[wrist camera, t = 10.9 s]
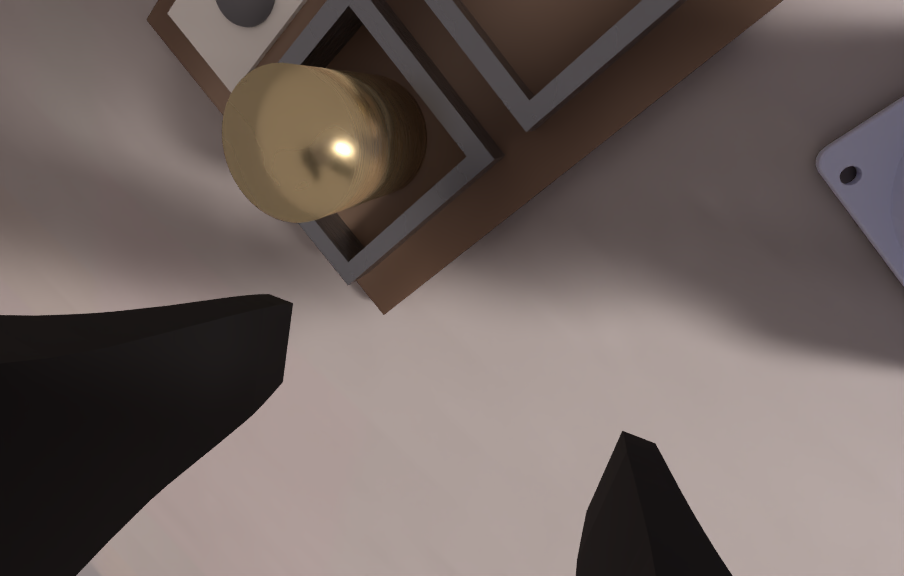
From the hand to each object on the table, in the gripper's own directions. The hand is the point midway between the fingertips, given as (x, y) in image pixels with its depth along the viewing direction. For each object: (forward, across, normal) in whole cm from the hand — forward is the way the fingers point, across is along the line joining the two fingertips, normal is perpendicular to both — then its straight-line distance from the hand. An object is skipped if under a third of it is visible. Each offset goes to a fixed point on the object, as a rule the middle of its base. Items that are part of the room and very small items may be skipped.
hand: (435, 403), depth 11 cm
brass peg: (+8, +6, -3) cm, 11 cm away
